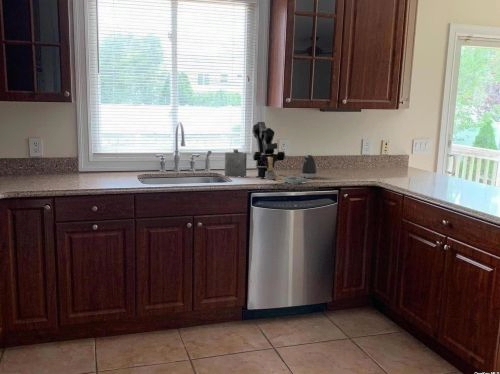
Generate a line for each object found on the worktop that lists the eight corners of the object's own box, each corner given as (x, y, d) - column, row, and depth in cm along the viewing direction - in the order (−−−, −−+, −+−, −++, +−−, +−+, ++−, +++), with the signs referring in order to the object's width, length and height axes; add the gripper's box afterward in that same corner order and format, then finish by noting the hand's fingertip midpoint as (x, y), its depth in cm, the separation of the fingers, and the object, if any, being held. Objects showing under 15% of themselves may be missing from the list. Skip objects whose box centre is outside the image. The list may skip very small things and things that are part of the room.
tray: (281, 181, 314) (281, 177, 314) (295, 180, 320) (295, 176, 320) (292, 184, 305) (292, 180, 305) (306, 183, 311) (306, 178, 311)
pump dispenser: (297, 177, 331) (298, 154, 328) (307, 176, 338) (308, 153, 336) (309, 179, 324) (310, 156, 321) (319, 178, 331) (320, 155, 328)
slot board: (270, 178, 325) (270, 174, 324) (282, 177, 330) (282, 173, 330) (281, 181, 315) (281, 177, 314) (293, 180, 320) (294, 176, 320)
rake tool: (265, 177, 307) (265, 156, 304) (273, 177, 307) (273, 156, 305) (266, 179, 302) (267, 157, 299) (274, 179, 302) (275, 157, 300)
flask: (225, 175, 335) (225, 148, 331) (246, 176, 334) (246, 149, 330) (224, 176, 331) (224, 149, 328) (246, 177, 330) (246, 149, 327)
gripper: (254, 138, 303) (256, 159, 294) (284, 138, 305) (288, 158, 297) (252, 149, 312) (254, 170, 303) (281, 149, 314) (285, 170, 306)
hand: (270, 167), depth 302 cm, fingers closed on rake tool, 3 cm apart
